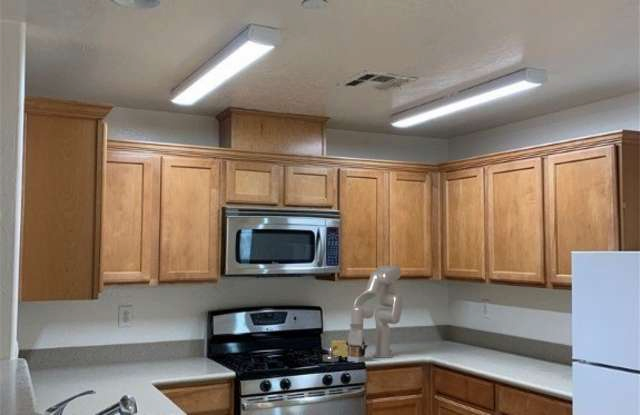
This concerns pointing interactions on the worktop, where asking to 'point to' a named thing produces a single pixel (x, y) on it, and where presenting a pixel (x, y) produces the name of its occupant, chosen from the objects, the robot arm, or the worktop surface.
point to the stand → (356, 358)
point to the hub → (330, 356)
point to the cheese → (339, 348)
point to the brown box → (355, 351)
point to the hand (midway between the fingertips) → (356, 354)
